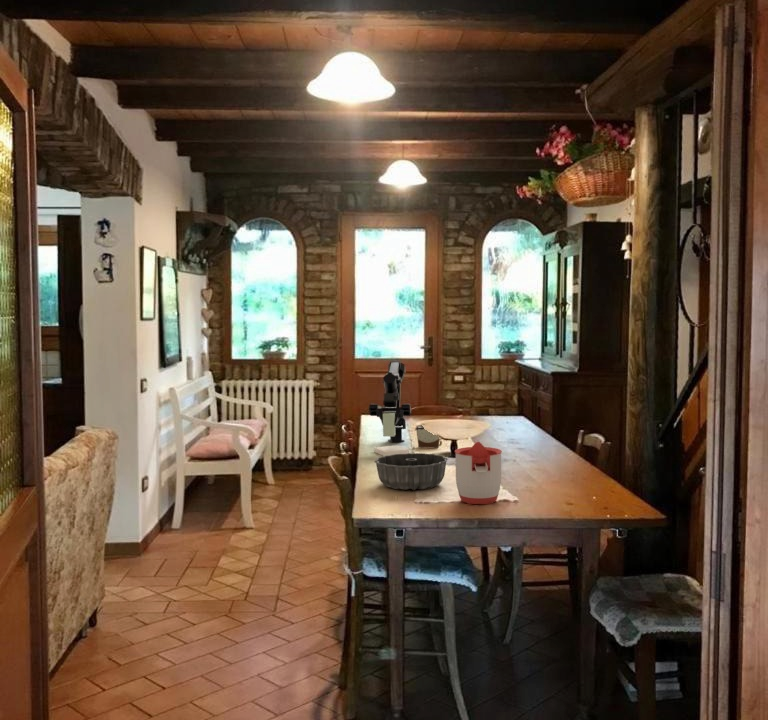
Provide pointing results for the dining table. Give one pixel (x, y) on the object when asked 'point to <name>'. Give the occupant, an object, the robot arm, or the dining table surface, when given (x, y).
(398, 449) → the plate
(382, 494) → the dining table surface
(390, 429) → the sage block
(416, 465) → the bundt pan
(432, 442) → the food container
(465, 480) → the citrus juicer
